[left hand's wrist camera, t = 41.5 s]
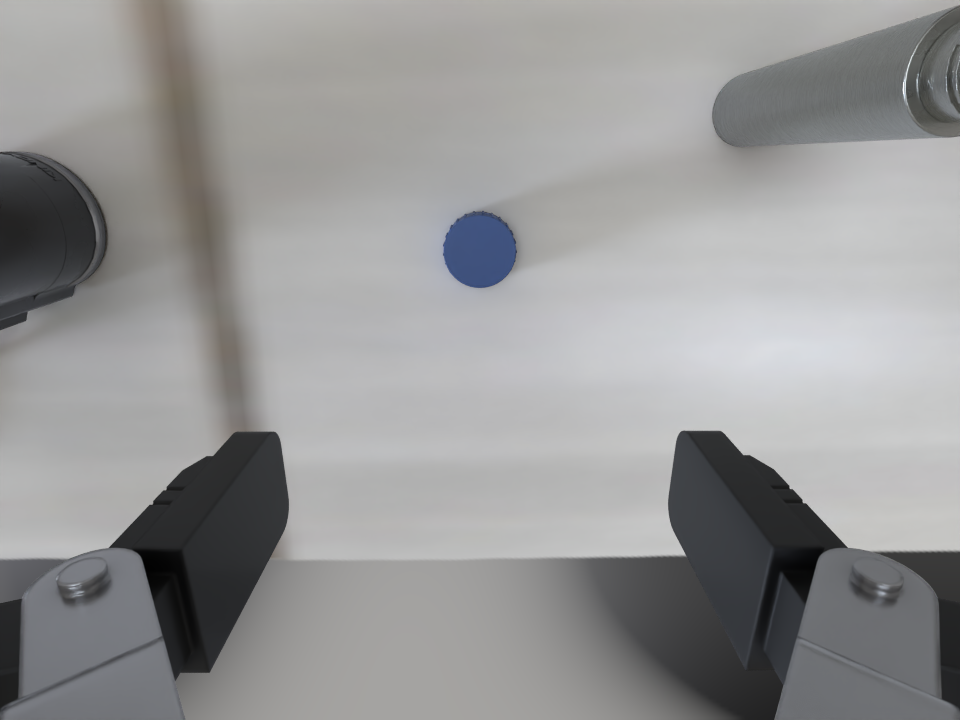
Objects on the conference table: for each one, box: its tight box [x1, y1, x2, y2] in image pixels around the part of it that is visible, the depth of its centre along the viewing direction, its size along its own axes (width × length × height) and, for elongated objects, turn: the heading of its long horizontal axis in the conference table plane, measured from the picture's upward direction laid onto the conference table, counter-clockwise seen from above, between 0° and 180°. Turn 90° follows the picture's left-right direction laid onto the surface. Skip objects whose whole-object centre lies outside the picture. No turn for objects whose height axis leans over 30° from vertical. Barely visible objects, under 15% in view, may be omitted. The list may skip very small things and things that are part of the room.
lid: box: [443, 211, 517, 288], centre depth 39 cm, size 5×5×2 cm
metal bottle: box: [713, 5, 960, 147], centre depth 27 cm, size 4×4×20 cm
